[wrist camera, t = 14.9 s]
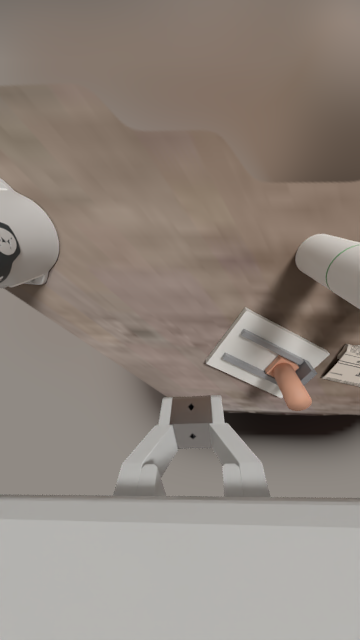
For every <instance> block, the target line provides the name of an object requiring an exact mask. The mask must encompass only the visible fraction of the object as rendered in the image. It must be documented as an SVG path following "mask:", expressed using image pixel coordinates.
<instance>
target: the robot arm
mask: <svg viewBox="0 0 360 640" xmlns="http://www.w3.org/2000/svg"><path fill="white" fill-rule="evenodd" d="M58 254H59V240H58V236H57V232H56V230H55V227H54V225H53V223H52V222H51V220H50V218H49V217H48V216H47V214H46V213H45V212H44V211H43V210H42V209H41V208H40V207H39V206H38V205H37V204H36V203H34V202H33V201H32V200H30V199H28V198H27V197H25V196H23V195H21V194H19V193H17V192H15V191H14V190H13V189H12V188H11V187H10V186H9V185H8V184H7V183H6V182H5V181H3V180H2V179H1V178H0V288H6V287H8V286H9V287H15V286H18V285H21V284H34V285H41V284H44V283H46V281H47V277H48V272H49V270H50V269H51V268H52V266H53V265H54V264H55V262H56V260H57V258H58ZM34 279H35V280H34ZM183 448H212V450H213V451H214V453H215V455H216V456H217V458H218V459H219V461H220V463H221V464H222V466H223V467H222V468H223V483H224V497H207V496H205V497H204V496H203V497H202V496H166V493H165V490H164V487H163V484H162V480H161V477H162V475H163V474H164V472H165V470H166V469H167V467H168V466H169V463H170V462H171V461H172V459H173V457H174V456H175V454H176V452H177V451H178V449H183ZM0 640H360V498H306V497H304V498H303V497H270V493H269V490H268V485H267V481H266V477H265V474H264V470H263V466H262V462H261V461H260V460H259V459H258V458H257V457H256V455H255V454H254V453H253V452H252V451H251V450H250V449H249V447H248V446H247V445H246V444H245V443H244V442H243V440H242V439H241V438H240V437H239V436H238V435H237V433H236V432H235V431H234V430H233V429H232V428H231V427H230V425H229V424H228V423H224V415H223V408H222V400H221V395H211V396H210V395H209V396H192V397H164V398H163V400H162V406H161V411H160V417H159V423H158V425H155V426H154V427H153V429H152V430H151V431H150V432H149V433H148V434H147V435H146V437H145V438H144V439H143V440H142V441H141V442H140V444H139V445H138V446H137V447H136V448H135V449H134V451H133V452H132V453H131V454H130V455H129V456H128V457H127V459H126V460H125V461H124V462H123V463H122V467H121V470H120V473H119V477H118V480H117V484H116V487H115V491H114V495H113V496H97V495H95V496H94V495H0Z"/></svg>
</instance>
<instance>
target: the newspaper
mask: <svg viewBox="0 0 360 640" xmlns="http://www.w3.org/2000/svg"><path fill="white" fill-rule="evenodd" d="M337 359H340V360H339V361H338V363H337V364H336V365H335V366H334V367H333V368H332V369H331V370H330V371H329V372H328V373H327V374H326V376H322V377H321V378H322V379H327V380H331V381H336V382H340V383H345V384H349V385H354V386H358V387H360V345H357V346H354V345H350V344H346V345H344V347H343V349H342V351H341V352H340V353H339V354H338V357H337Z"/></svg>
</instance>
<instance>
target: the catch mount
mask: <svg viewBox="0 0 360 640" xmlns="http://www.w3.org/2000/svg"><path fill="white" fill-rule="evenodd" d="M279 355H280V356H282V357H284V358H286V359H288V360H290V361H292V362H294V363H296V364H297V365H298V366H299V368H298V369H297V370H296V371H295V372H296V374H297V376H298V377H299V379H300V381H301V382H302V384H303V386H304V385H305V384H306V383H307V382H308V381H310V380H311V379H312V378H313V377H314V376H315V375H316V374H317V373H316V371H315V370H314V368H315V367H316V366H317V365H319V364H320V363H321V362H322V361H323V360H324V359H325V358H326V357H327V356H329V355H330V354H329V352H328V351H327V350H325V349H323V348H322V347H320V346H318V345H316V344H314V343H312V342H310V341H308V340H306V339H305V338H303V337H301V336H299V335H297V334H295V333H293V332H291V331H289V330H287V329H286V328H284V327H282V326H280V325H278V324H276V323H274V322H272V321H270V320H269V319H267V318H265V317H263V316H261V315H259V314H257V313H255V312H253V311H251V310H250V309H248V308H246V307H245V308H244V309H243V311H242V312H241V313H240V315H239V316H238V317H237V319H236V320H235V321H234V323H233V324H232V325H231V327H230V328H229V329H228V331H227V332H226V333H225V335H224V336H223V337H222V339H221V340H220V341H219V343H218V344H217V345H216V347H215V348H214V349H213V351H212V352H211V353H210V355H209V356H208V357H207V359H206V364H208V365H210V366H212V367H214V368H216V369H219V370H221V371H223V372H225V373H227V374H230V375H232V376H234V377H236V378H238V379H240V380H243V381H245V382H247V383H249V384H251V385H254V386H256V387H258V388H260V389H262V390H265V391H267V392H269V393H271V394H273V395H275V396H278V397H280V398H282V397H283V395H282V393H281V391H280V389H279V386H278V384H277V382H276V380H275V377H273V376H271V375H268V374H266V371H265V369H266V368H267V367H268V366H269V365H270V364H271V363H272V362H273V361H274V360H275V359H276V358H277V357H278V356H279Z"/></svg>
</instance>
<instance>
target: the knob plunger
mask: <svg viewBox="0 0 360 640" xmlns="http://www.w3.org/2000/svg"><path fill="white" fill-rule="evenodd" d="M298 368H299V366H298V365H297V364H296V363H294V362H292V361H290V360H288V359H286V358H284V357H282V356H280V355H279V356H278V357H277V358H276V359H275V360H274V361H273V362H272V363H271V364H270V365H269V366H268V367H267V368H266V369H265V371H266V374H268V375H271V376H273V377H275V380H276V382H277V384H278V386H279V389H280V391H281V393H282V395H283V397H284V400H285V402H286V404H287V406H288V408H289V409H291V410H294V411H301V410H304V409H306V408H308V407H309V406H310V405H311V403H312V400H311V398H310V396H309V394H308V393H307V391H306V389H305V388H304V386H303V384H302V382H301V381H300V379H299V377H298V376H297V374H296V372H295V371H296V370H297V369H298Z"/></svg>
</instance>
